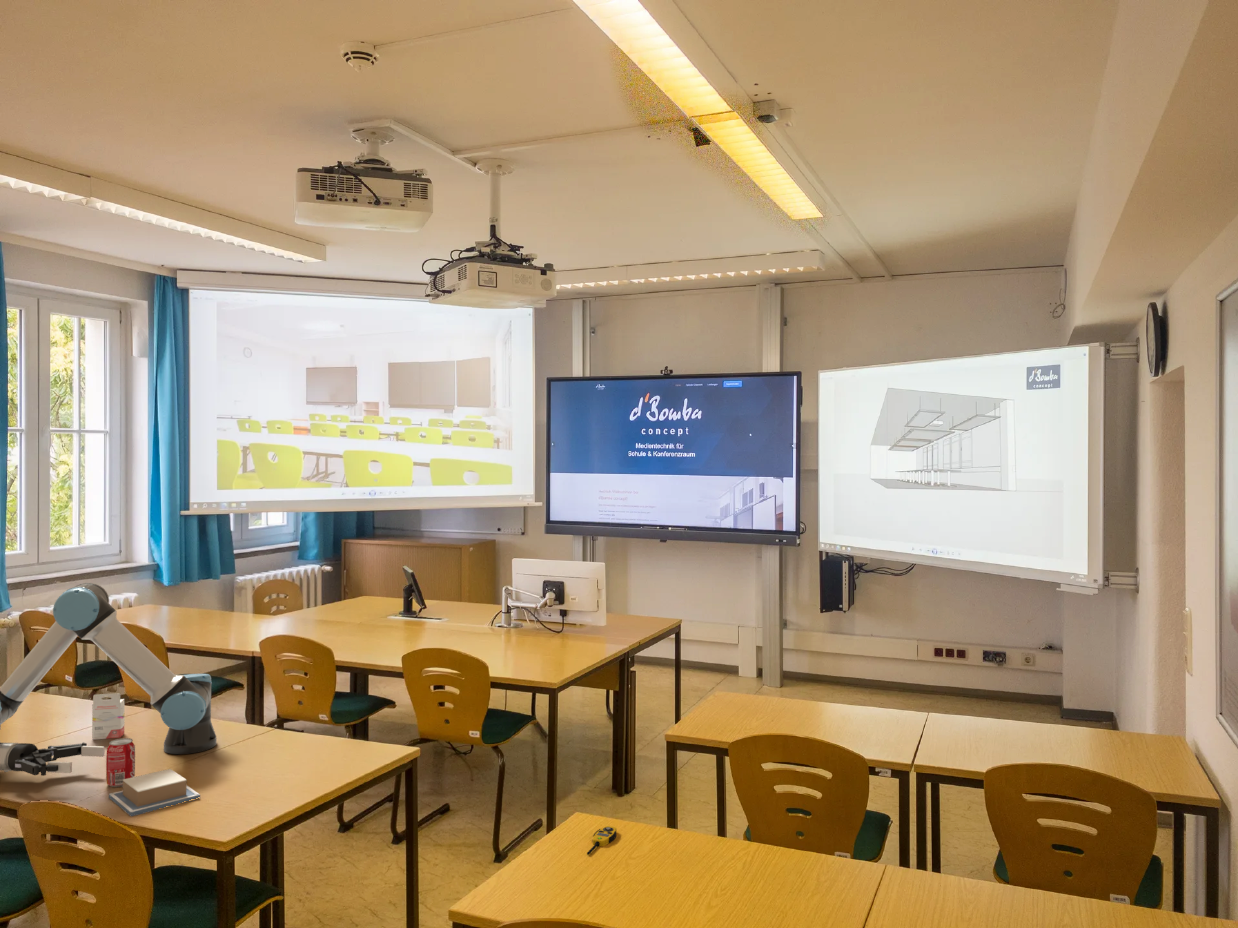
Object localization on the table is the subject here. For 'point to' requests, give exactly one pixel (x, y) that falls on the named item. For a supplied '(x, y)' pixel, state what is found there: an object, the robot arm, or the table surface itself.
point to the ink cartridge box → (107, 716)
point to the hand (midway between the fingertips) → (87, 759)
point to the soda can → (120, 761)
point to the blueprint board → (152, 792)
